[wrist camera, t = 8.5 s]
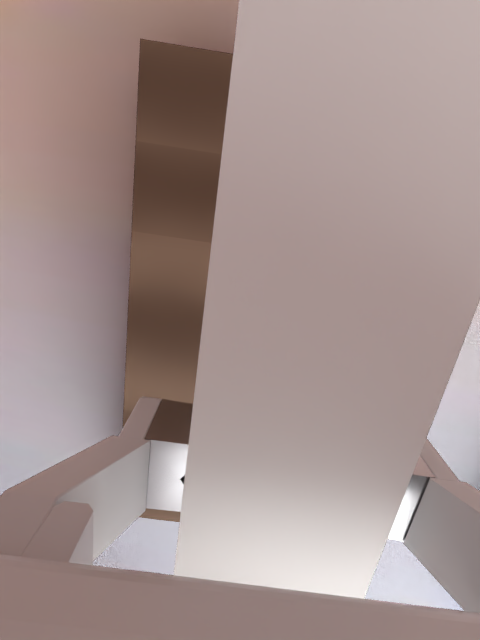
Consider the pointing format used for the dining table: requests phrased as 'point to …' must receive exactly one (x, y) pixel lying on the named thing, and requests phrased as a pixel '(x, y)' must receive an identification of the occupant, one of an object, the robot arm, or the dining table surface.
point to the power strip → (331, 285)
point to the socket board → (172, 219)
